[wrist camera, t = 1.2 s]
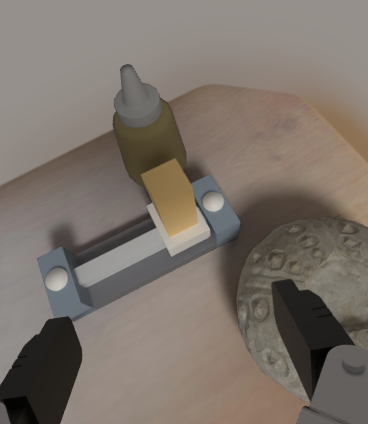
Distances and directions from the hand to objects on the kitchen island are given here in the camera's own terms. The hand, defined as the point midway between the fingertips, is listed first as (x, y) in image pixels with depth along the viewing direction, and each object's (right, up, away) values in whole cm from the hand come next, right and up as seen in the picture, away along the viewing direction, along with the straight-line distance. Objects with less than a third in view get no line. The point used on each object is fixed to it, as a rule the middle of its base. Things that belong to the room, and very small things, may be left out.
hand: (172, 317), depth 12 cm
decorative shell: (+15, -7, +23) cm, 28 cm away
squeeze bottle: (-3, +9, +32) cm, 34 cm away
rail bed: (-4, -1, +27) cm, 28 cm away
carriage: (0, +2, +26) cm, 26 cm away
